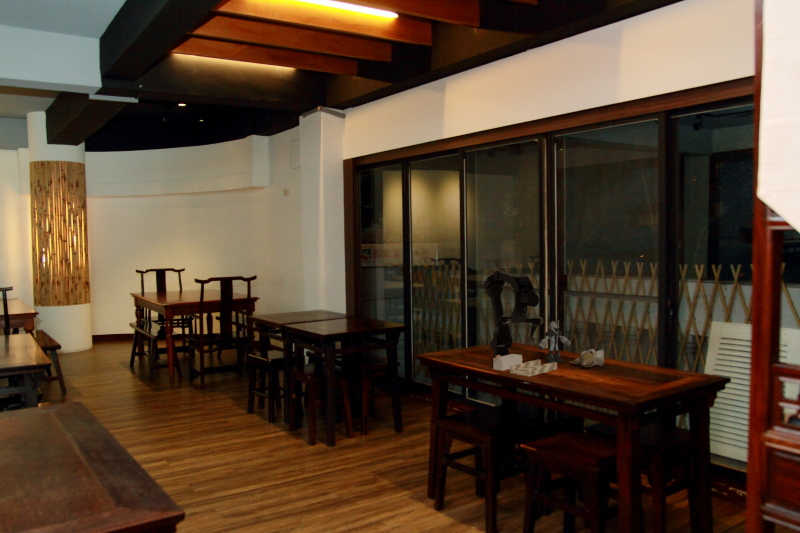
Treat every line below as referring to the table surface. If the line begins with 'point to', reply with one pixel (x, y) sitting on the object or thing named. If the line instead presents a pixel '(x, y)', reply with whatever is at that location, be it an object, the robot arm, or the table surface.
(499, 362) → the white bar with tab
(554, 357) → the robot
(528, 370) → the cradle
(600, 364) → the ceramic sculpture
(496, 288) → the robot arm
